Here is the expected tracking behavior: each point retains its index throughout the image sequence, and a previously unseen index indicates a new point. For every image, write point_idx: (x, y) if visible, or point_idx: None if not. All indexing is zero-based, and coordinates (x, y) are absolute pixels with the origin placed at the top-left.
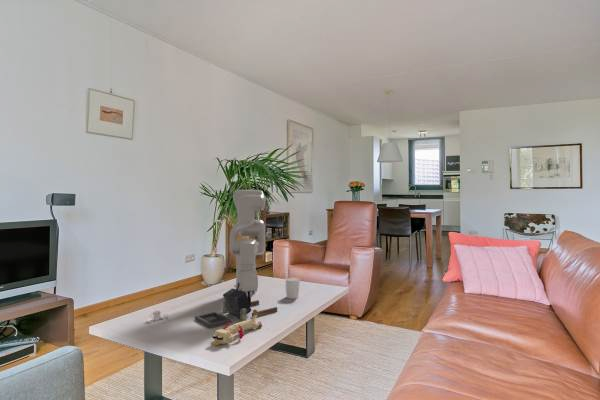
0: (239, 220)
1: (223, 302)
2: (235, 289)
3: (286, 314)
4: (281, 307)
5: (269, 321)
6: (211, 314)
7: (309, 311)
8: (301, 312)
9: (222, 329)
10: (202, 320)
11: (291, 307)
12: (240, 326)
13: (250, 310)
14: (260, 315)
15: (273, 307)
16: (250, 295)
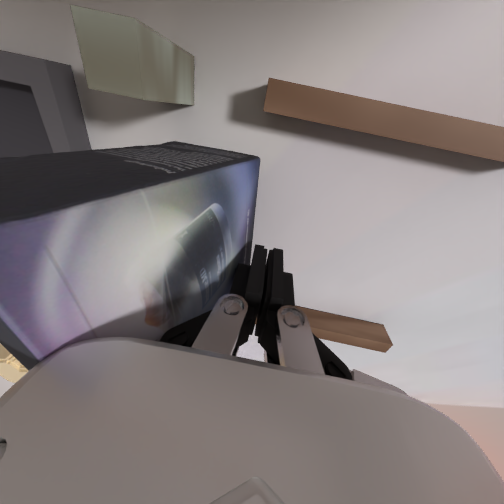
0: None
1: (83, 19)
2: (27, 354)
3: (354, 366)
4: (464, 320)
5: (247, 354)
6: (10, 81)
7: (430, 402)
8: (405, 389)
9: (10, 367)
10: None
11: (478, 351)
12: None
13: None
14: None
15: (375, 341)
16: (268, 362)
